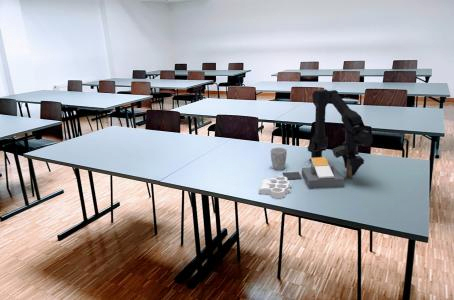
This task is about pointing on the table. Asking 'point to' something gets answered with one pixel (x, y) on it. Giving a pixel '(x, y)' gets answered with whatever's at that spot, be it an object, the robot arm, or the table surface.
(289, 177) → the black mat
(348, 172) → the walnut cylinder
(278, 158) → the mug
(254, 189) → the table surface
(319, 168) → the white and orange panel
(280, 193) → the white lobed tray
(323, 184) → the grey square block
